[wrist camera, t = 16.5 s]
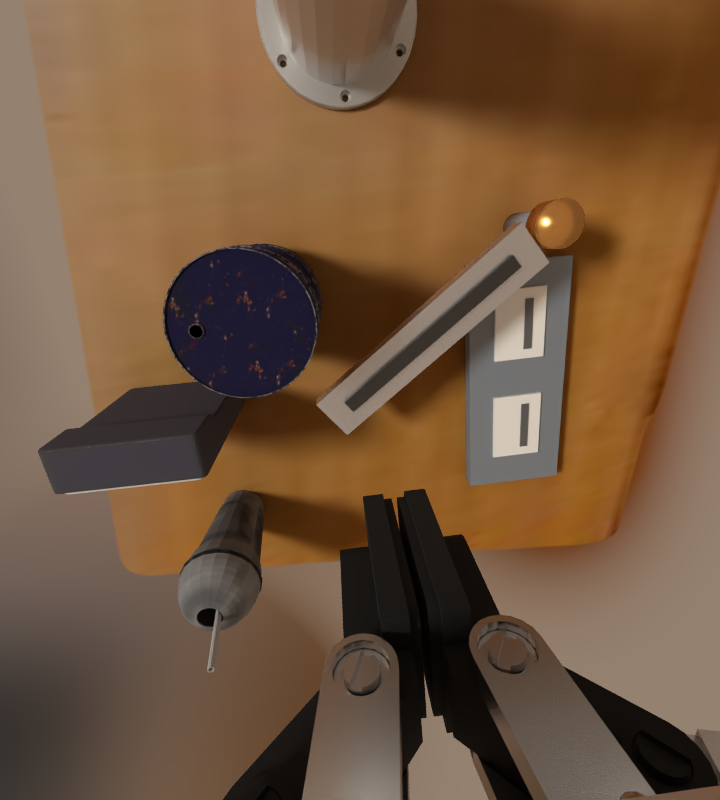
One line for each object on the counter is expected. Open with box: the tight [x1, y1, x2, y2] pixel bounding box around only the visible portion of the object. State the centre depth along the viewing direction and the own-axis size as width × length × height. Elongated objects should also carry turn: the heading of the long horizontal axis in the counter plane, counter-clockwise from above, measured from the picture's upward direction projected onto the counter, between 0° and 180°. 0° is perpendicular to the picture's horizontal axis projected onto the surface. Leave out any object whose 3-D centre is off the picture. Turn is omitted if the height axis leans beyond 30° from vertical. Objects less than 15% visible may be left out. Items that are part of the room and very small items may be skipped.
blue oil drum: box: [163, 244, 322, 398], centre depth 34 cm, size 10×10×15 cm
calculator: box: [38, 382, 243, 494], centre depth 37 cm, size 11×4×15 cm, turn 95°
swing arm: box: [316, 198, 585, 435], centre depth 36 cm, size 26×4×2 cm, turn 132°
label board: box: [464, 211, 573, 486], centre depth 42 cm, size 28×10×6 cm, turn 6°
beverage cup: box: [178, 490, 264, 672], centre depth 40 cm, size 7×7×20 cm
